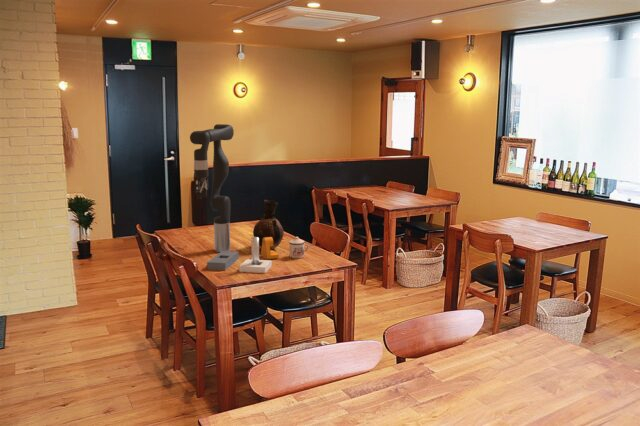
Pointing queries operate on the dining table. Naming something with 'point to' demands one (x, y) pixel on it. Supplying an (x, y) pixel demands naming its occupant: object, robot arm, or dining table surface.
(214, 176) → the robot arm
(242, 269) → the cradle
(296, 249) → the teacup with lid
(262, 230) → the ceramic vessel
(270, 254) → the bracket
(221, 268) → the gray rectangular block
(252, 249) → the axle
